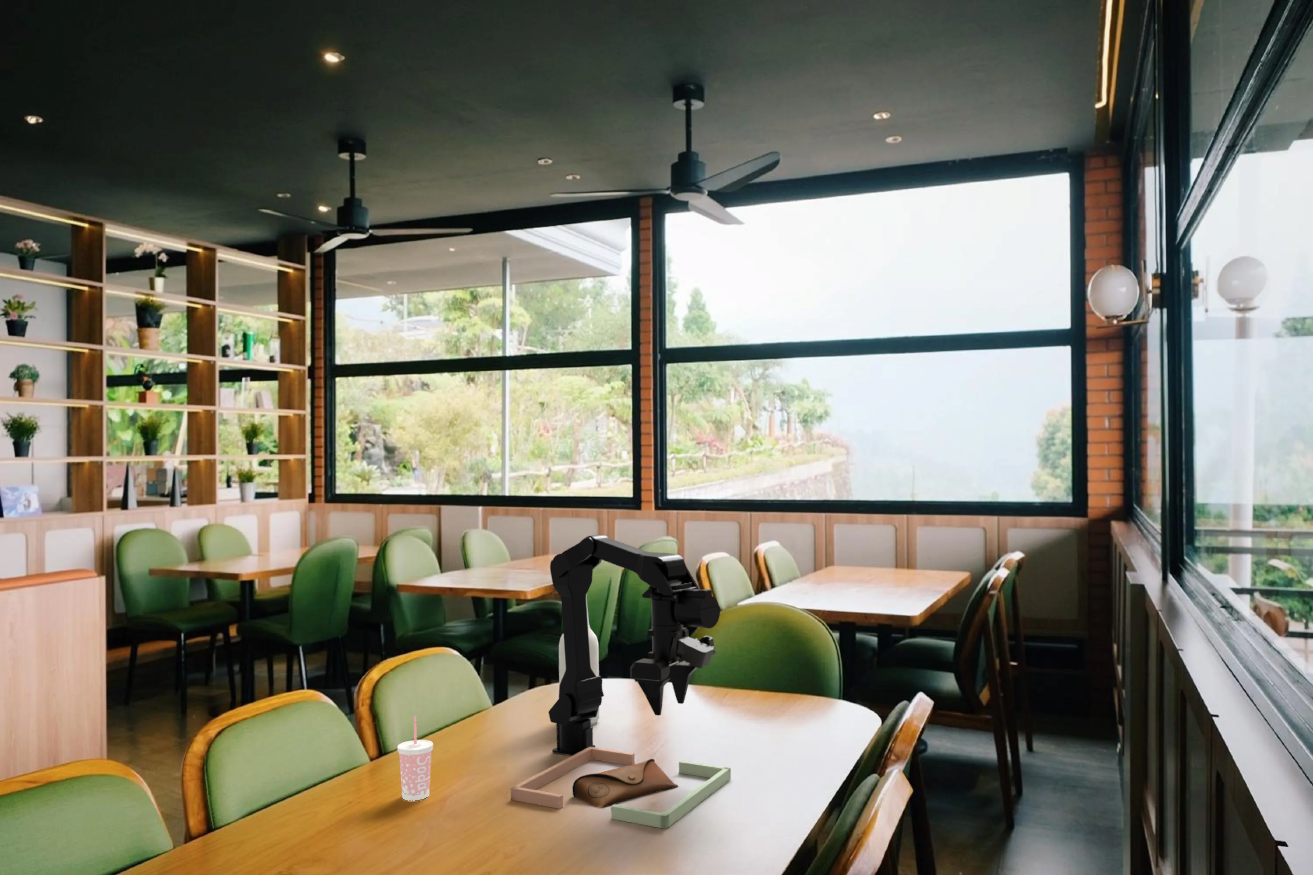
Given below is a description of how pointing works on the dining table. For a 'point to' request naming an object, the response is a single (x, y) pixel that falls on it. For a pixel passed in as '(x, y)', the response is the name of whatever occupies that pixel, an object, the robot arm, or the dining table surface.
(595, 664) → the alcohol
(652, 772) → the sunglasses case
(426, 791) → the beverage cup
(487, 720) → the dining table surface
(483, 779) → the dining table surface
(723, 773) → the mint green arch
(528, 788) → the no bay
